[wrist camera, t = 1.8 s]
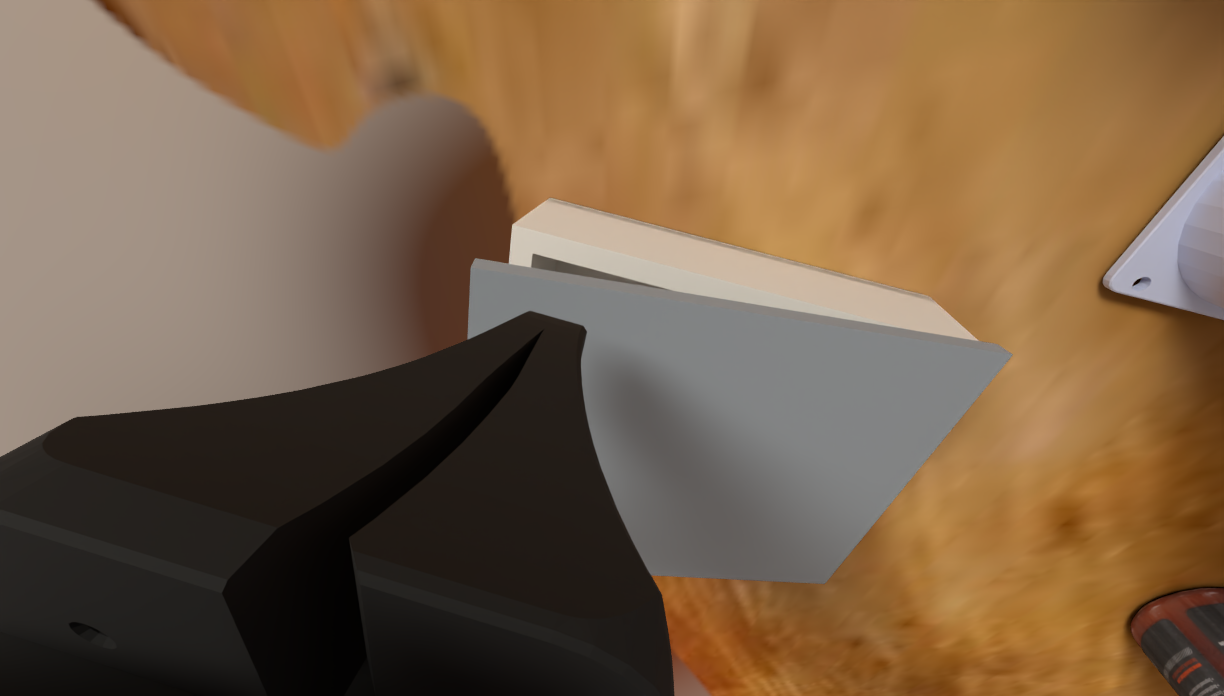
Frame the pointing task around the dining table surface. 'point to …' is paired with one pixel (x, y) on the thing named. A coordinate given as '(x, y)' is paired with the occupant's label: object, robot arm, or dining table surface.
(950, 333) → the storage box
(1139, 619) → the supplement bottle
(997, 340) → the dining table surface
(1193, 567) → the dining table surface
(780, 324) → the lid
